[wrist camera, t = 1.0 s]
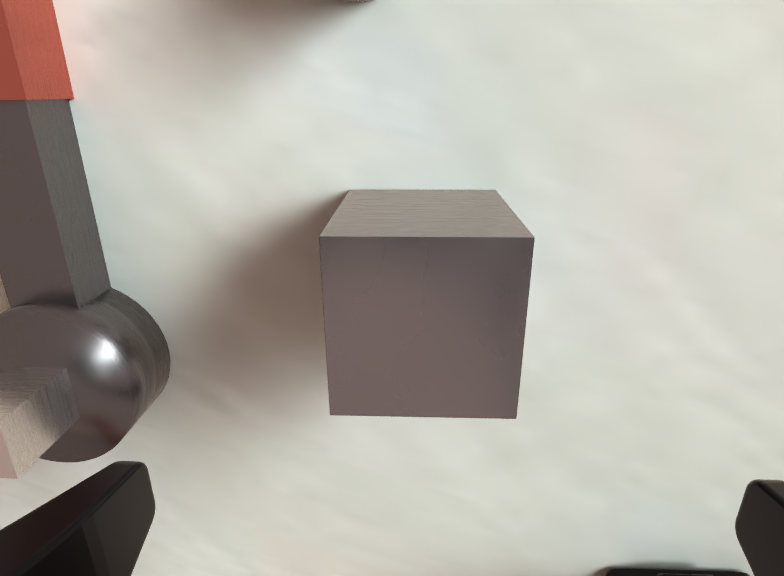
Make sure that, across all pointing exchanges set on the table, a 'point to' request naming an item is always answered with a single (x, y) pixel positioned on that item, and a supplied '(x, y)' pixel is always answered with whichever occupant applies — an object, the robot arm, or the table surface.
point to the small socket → (358, 0)
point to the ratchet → (58, 272)
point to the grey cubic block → (425, 303)
